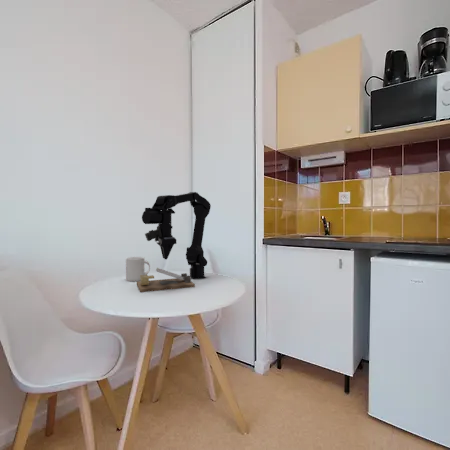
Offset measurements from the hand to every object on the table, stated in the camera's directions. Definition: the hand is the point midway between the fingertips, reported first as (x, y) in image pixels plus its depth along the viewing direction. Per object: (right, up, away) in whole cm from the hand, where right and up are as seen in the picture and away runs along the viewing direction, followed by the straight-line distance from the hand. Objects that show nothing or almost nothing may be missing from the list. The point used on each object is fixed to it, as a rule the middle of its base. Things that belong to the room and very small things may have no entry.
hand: (165, 258), depth 124 cm
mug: (-16, -12, +13) cm, 24 cm away
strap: (+3, -8, +1) cm, 8 cm away
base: (0, -12, 0) cm, 12 cm away
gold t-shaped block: (-7, -10, -3) cm, 13 cm away
